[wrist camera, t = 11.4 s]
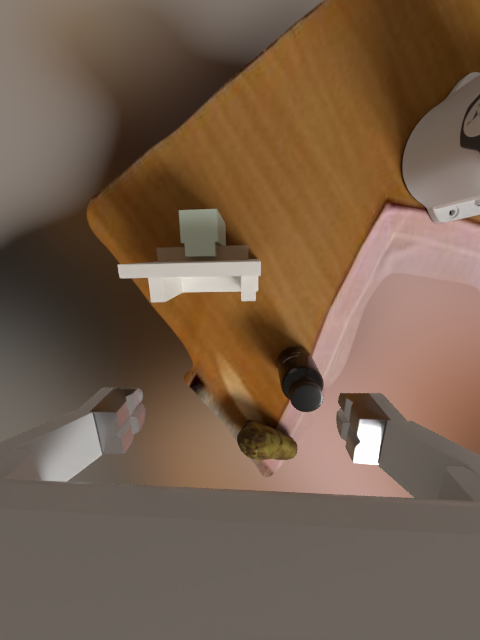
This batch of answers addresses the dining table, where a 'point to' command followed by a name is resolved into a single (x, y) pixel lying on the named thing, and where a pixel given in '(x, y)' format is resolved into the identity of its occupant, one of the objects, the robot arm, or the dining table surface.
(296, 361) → the supplement bottle
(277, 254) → the dining table surface
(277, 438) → the potato
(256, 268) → the wall board
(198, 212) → the pale green box
